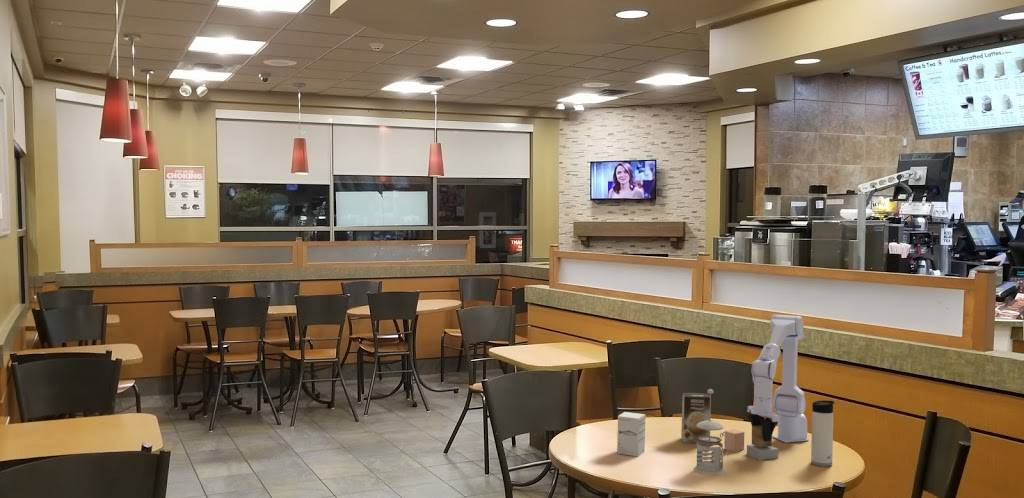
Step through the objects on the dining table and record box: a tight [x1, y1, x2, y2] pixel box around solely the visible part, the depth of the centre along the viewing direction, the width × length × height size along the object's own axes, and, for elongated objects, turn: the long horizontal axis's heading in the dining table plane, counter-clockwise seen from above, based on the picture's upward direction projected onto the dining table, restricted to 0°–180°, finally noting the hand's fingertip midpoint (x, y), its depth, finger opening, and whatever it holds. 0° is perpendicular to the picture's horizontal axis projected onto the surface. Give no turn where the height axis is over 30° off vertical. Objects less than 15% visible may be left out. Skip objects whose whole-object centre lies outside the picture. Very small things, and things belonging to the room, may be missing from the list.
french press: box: [692, 388, 732, 476], centre depth 258 cm, size 10×12×25 cm
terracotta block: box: [723, 428, 745, 452], centre depth 283 cm, size 4×4×6 cm
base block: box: [746, 443, 779, 461], centre depth 275 cm, size 7×7×3 cm
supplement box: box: [616, 411, 647, 458], centre depth 278 cm, size 7×7×13 cm
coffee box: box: [680, 392, 711, 444], centre depth 293 cm, size 9×6×16 cm
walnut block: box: [751, 425, 773, 448], centre depth 274 cm, size 4×4×6 cm
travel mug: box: [810, 400, 835, 467], centre depth 266 cm, size 6×7×20 cm
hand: (762, 438), depth 274 cm, fingers closed on walnut block, 4 cm apart
